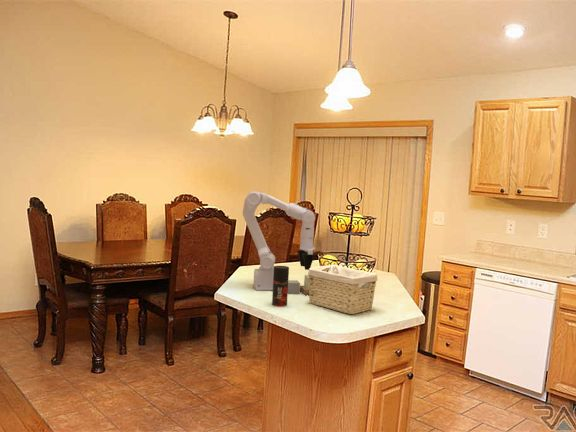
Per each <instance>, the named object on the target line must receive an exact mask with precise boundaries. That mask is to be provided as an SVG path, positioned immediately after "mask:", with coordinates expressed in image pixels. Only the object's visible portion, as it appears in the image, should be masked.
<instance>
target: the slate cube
mask: <svg viewBox="0 0 576 432" xmlns="http://www.w3.org/2000/svg"><path fill="white" fill-rule="evenodd" d="M300 286H301V282H300V281H298V280H296V279H294V280H289V279H288V295H300V293H301V292H300Z"/></svg>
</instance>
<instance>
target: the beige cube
mask: <svg viewBox="0 0 576 432" xmlns="http://www.w3.org/2000/svg"><path fill="white" fill-rule="evenodd" d="M303 278H304V281H303V282H304V283H303V286H304V287H305V288H307V289H309V275H308V274H305V275H304V277H303Z"/></svg>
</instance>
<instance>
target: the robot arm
mask: <svg viewBox="0 0 576 432" xmlns="http://www.w3.org/2000/svg"><path fill="white" fill-rule="evenodd" d="M243 203H244V204H243V209H242V216H243V218H244V221H245V223H246V225H247V229H248V231H249V232H250V235H251V236H250V237H251V238H252V240H253V243H254V246H255V247H256V250H257V252H258V257H259V265H260V266H259V268H255V269H254V271H253V285H252V286H253V288H254V290H256V291H273V275H274V266H275V263H276V260H277V259H276V256H275V255H274V254H273V253H272V251H271V249H270V247H269V246H268V245H267V241H266V239H265V236H264V235H263V232H262V229H261V227H260V224H259V222H258V220H257V217H256V215H255V212H256V210H257V208H258V206H259V205H260V204H261V205H267V204H268V205H271V206H273V207H276V208H278V209H280V210H283V211H284V213H286V215H287V216H289V217H291V218H294V219H296V220H298V221H301V222H302V223H301V230H300V240H299V241H300V243H299V244H300V245H299V250H296V252H297V254H298V258H299V264H300V267H304V270H306V271H309V268H312V263H313V262H314V259H315V257H316V254H315V253H313V252H314V250H316V247H314V235H315V220H316V216H315V212H313V211H312V210H311V209H308V208H307V207H303V206H301V205H298V203H297V202H294V203H293V202H290V203H286V202H284V201H282V200H280V199H278V198H276V197H274V196H272V195H270V194H267V193H264V192H260V191H258V190H253V191H250V192H248V194H247V195H246V197H245V198H244V202H243Z"/></svg>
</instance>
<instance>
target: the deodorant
mask: <svg viewBox="0 0 576 432" xmlns="http://www.w3.org/2000/svg"><path fill="white" fill-rule="evenodd" d="M289 271H290V267H289V266H287V265H274V275H273V290H272V299H271V305H272V306H274V307H281V308H282V307H286V306H287V305H288V295H289V294H288V280H289Z"/></svg>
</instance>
